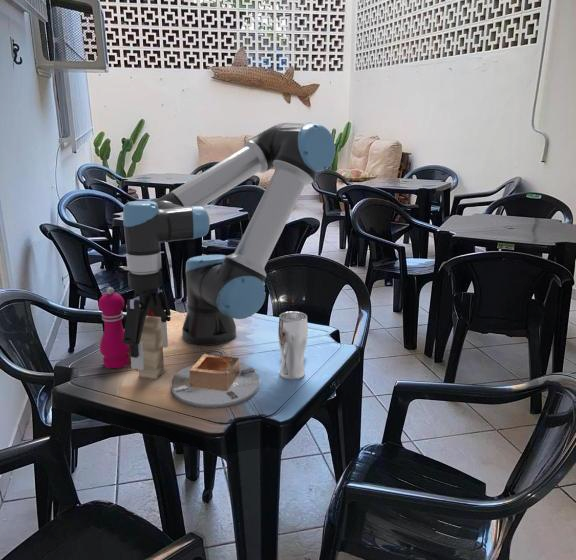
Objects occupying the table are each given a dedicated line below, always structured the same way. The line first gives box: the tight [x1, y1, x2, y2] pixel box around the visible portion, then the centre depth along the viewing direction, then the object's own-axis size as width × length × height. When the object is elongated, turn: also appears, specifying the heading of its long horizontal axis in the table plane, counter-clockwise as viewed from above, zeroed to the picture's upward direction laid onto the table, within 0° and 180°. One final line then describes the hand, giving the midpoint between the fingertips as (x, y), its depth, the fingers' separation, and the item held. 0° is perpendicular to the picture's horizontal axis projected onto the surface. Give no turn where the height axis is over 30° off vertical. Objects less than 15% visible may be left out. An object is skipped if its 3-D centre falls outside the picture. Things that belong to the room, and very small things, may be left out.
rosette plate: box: [170, 353, 260, 409], centre depth 121 cm, size 20×20×6 cm
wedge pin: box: [137, 316, 165, 380], centre depth 125 cm, size 4×4×14 cm
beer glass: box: [277, 311, 309, 381], centre depth 126 cm, size 7×7×15 cm
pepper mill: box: [98, 286, 131, 369], centre depth 129 cm, size 7×7×20 cm
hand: (150, 357), depth 126 cm, fingers open, 12 cm apart
